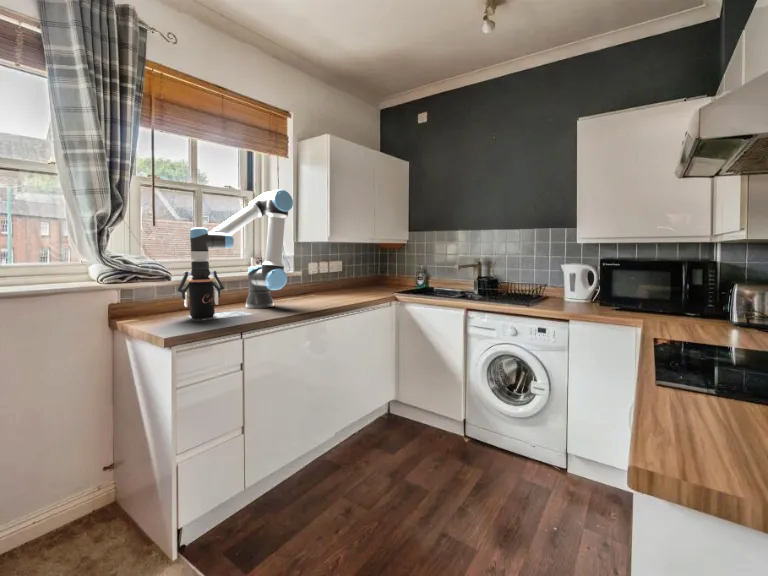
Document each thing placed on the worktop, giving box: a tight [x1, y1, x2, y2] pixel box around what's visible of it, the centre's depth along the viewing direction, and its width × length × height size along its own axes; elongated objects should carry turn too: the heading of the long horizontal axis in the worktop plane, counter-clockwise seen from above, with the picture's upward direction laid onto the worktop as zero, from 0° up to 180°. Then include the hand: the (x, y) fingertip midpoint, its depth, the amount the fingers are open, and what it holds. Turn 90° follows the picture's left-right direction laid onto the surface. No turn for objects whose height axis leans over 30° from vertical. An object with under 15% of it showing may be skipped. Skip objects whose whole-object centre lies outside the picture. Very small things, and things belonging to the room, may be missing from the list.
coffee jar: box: [188, 278, 216, 318], centre depth 185 cm, size 11×11×18 cm
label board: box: [187, 310, 253, 322], centre depth 191 cm, size 26×16×1 cm, turn 128°
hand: (201, 305), depth 185 cm, fingers open, 13 cm apart
